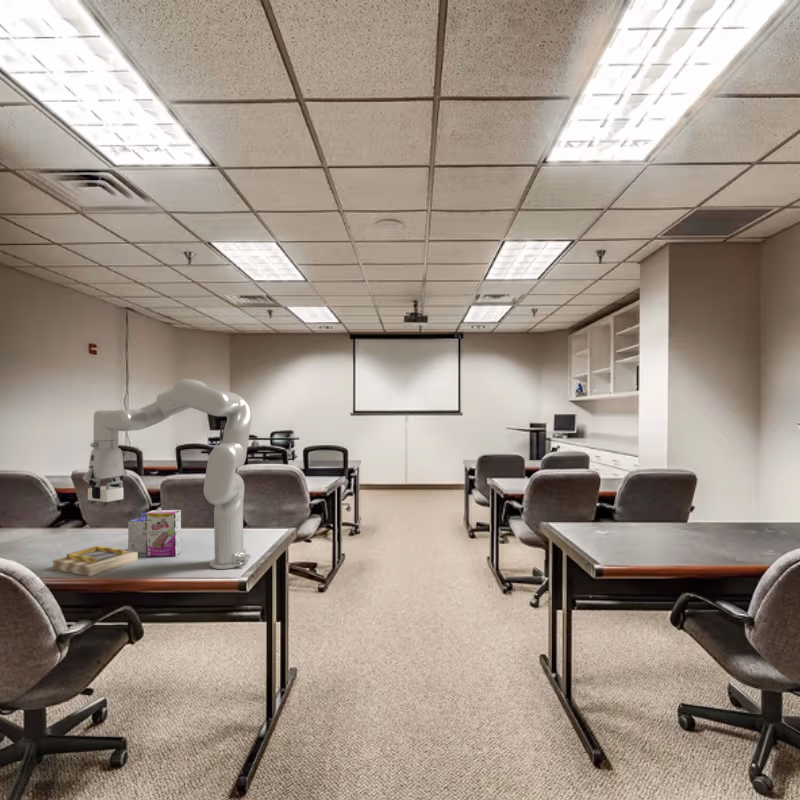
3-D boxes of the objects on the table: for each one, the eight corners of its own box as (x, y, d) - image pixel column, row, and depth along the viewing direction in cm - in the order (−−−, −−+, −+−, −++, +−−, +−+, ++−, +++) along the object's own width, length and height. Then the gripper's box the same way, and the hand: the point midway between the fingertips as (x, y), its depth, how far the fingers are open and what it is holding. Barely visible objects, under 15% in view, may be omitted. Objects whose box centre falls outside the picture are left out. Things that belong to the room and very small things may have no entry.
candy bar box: (145, 557, 176) (145, 512, 176) (152, 553, 181) (152, 510, 181) (175, 556, 176) (175, 512, 176) (181, 552, 181) (181, 509, 181)
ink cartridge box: (160, 549, 187) (160, 512, 187) (151, 553, 181) (151, 515, 181) (136, 548, 188) (136, 511, 188) (127, 553, 182) (127, 515, 183)
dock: (137, 560, 172) (137, 548, 172) (90, 576, 157) (90, 562, 157) (101, 555, 180) (101, 543, 180) (53, 569, 165) (53, 555, 165)
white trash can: (123, 503, 168) (123, 480, 168) (106, 506, 163) (107, 482, 163) (104, 501, 172) (104, 478, 172) (87, 504, 167) (88, 481, 167)
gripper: (88, 447, 158) (88, 502, 158) (135, 444, 174) (135, 493, 174) (74, 446, 161) (73, 500, 161) (121, 443, 177) (121, 492, 177)
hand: (105, 496), depth 167 cm, fingers closed on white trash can, 6 cm apart
